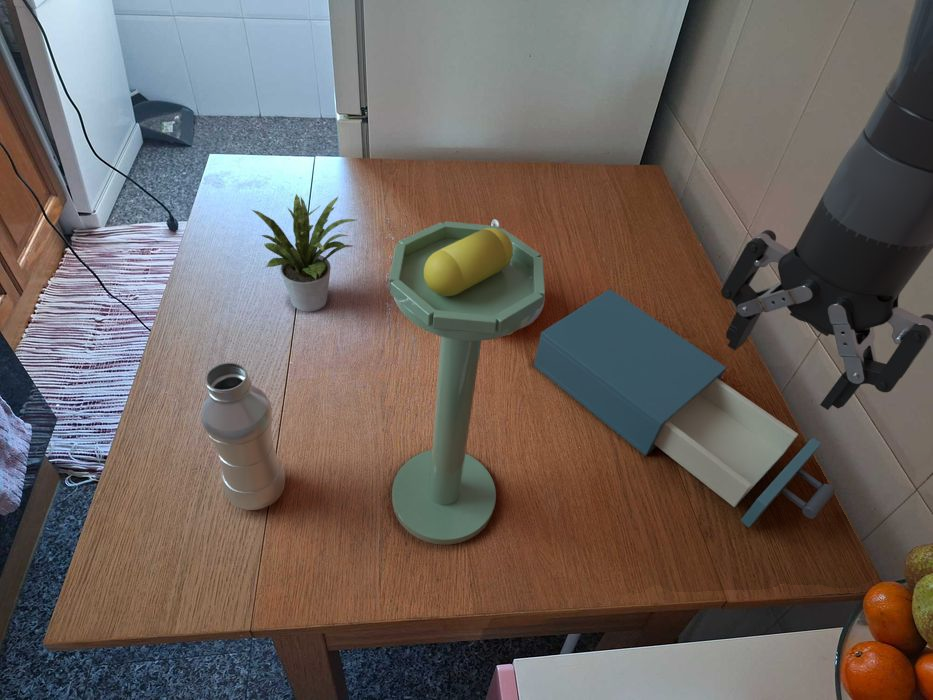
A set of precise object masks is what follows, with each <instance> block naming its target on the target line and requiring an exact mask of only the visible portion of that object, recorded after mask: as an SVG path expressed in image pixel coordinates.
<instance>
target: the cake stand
mask: <svg viewBox="0 0 933 700" xmlns="http://www.w3.org/2000/svg"><path fill="white" fill-rule="evenodd" d="M486 228H496V229H498V226H491V225H488V224H477V223H467V222H457V221H447V220H445V221H444V223H443V222H442V221H439V222H438V223H436V224H435V223H434V224H433V225H431V226H429V227H426V228H424V229H422V230H420V231H418V232H415V233H413V234H411V235H409V236H407V237H404V238H402V239H400V240H398V243H395V248H394V252H393V258H392V263H391V267H390V272H389V277H388V290H389V291H390V295H391V296H392V297H393V299H394V302H395V304H396V306H397V308H398V309H399V310H400V312H401V313H402V314H403V315H404V317H406V318H407V319H408V320H409V321H410V322H411V323H412V324H414V325H415V326H417V327H418V328H420V329H422V330H424V331H426V332H429V333H430V334H433V335H436V336H439V350H438V364H437V375H436V377H437V378H436V389H435V390H436V391H435V402H434V403H435V405H434V416H433V429H432V430H433V431H432V444H431V449H430V450H426V451H423V452H420V453H418V454H416V455H414V456H413V457H411V458H410V459H408V460H407V461H406V462H405V463H404V464H403V465H402V466H401V467H400V469H399V470H398V471H397V473H396V475H395V477H394V480H393V483H392V488H391V489H392V490H391V502H392V508H393V511H394V514H395V516H396V519H397V520H398V522H399V523H400V525H401V526H402V527H403V528H404V529H405V530H406V531H407V532H408V533H409V534H411V536H413V537H415V538H417V539H418V540H421V541H424V542H426V543H429V544H434V545H445V546H448V545H457V544H460V543H464V542H467V541H468V540H470V539H472V538H474V537H476V536H477V535H478V534H480V533H481V532H482V531H483V530H484V529H485V528H486V526H487V525H488V524H489V522H490V520H491V519H492V516H493V514H494V511H495V506H496V500H497V490H496V485H495V482H494V479H493V477H492V476H491V474H490V472H489V471H488V469H487V468H486V467H485V466H484V465H483V464H482V463H481V462H480V461H479V460H477V459H476V458H475V457H473V456H472V455H469V454H468V453H467V447H468V439H469V431H470V425H471V418H472V411H473V410H472V409H473V403H474V395H475V389H476V381H477V374H478V367H479V361H480V352H481V347H482V346H481V345H482V341H489V340H494V339H499V338H503V337H506V336H509V335H508V334H510V335H512V334H513V333H515V332H517V331H518V330H521V329H522V328H521V327H523V326H524V325H525V324H526V323H527V322H529V321H530V320H531V318H532V317H533V316H534V314H535V312H536V310H538V309H539V308H541V305H542V304H543V301H544V302H545V300H544V296H546V285H545V269H544V257H543V256H541V253H540V252H538V251H536V250H535V249H534V248H532V247H531V246H529V245H528V244H526V243H525V242H523V240H521V239H519V238H517V236H515V235H513V234H512V233H511V232H509V231H507V230H506V229H504V228H503V227H500V229H499V230H501V231H503V232H504V233H505V234H506V235H507V236H508V237H509V238H510V240H511V243H512V246H513V255H512V259H511V261H510V263H509V264H508V265H507V266H506V267H505V268H504V269H503V270H501V271H500V272H498V273H496V274H494V275H492V276H490V277H488V278H486V279H485V280H483V281H481V282H479V283H477V284H475V285H473V286H471V287H470V288H468V289H466V290H464V291H462V292H460V293H458V294H456V295H453V296H442V295H439V294H436V293H435V292H433V291H432V290H431V289H430V288H429V287H428V285H427V284H426V282H425V279H424V266H425V263H426V261H427V260H428V258H429V257H430V256H431V255H432V254H433V253H435V252H436V251H438V250H440V249H442V248H444V247H446V246H449V245H451V244H453V243H455V242H457V241H459V240H461V239H463V238H465V237H467V236H470V235H472V234H474V233H476V232H478V231H480V230H483V229H486ZM520 328H521V329H520ZM523 328H524V327H523ZM511 333H512V334H511Z"/></svg>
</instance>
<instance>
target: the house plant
mask: <svg viewBox="0 0 933 700" xmlns="http://www.w3.org/2000/svg"><path fill="white" fill-rule="evenodd" d="M338 198H339V196H336V197H335V198H334V199H333V200H331V201H330V202H329V203H328V204H327V205H326V206H325V207H324V209H323V210H322V213H321V214H320V216H319V218H318V220H317V221H316V223H315V225H314V224H310V216H311V215H312V214H313V213H314V212H315V211H316V210H318V209H320V207H321V206H322V204H320V205H319V206H317V207H315V209H313V210H311V211H310V212H308V208H307V205H306V203H305V200H304V199H303V198H302V196H300V197H299V195H298V193H296V194H295V196H294V201H293V211H292V209H290V208H289V206H288V207H287V210H288V211H289V213H290V215H291V218H292V219H293V220H292V221H293V222H292V225H293V226H292V231H293V234H294V239H295V241H294V242H295V244H294V245H293V244H292V242H291V241H290V240H289V238H288V236H287V235H286V234H285V232H284V231H283V229H282V228H281V227H280V225H279V224H278V223H277V222H276V221H275V220H274V219H272V218H270V217H269V216H267V215H265V214H264V213H263V212H261V211H258V210H254V209H251V211H252V212H253V213H255V214H256V215H257V216H258V217H259V218H260V219H261V220H262V221H263V222H264V223H265V224H266V226H268V228H270V230H271V231H272V234H273V236H274V237H273V236H270V235H268V234H262V235H261V237H263V238H266V239H269V240H270V241H271V242H267V243H264V244H263V245H264V247H265V248H266V249H267V250H268V251H270V252H272V253H273V254H275V255H278V256H279V257H273V258H272V259H270V260H269V261H268V262H267V264H266V265H265V267H264V269H266V268H272V267H273V268H274V267H278V266H280V267H279V273H280V275H281V277H282V281H283V283H284V285H285V288H286V291H287V295H288V296H289V299H290V302H291V304H292V307H294V308H295V309H297V310H300V311H301V312H307V313H308V312H309V313H310V312H316V311H318V310H320V309H322V308H323V307H325V305H326V304H327V302H328V294H329V287H330V286H329V284H330V278H331V277H330V275H331V268H332V267H331V263H330V261H329V260H328V259H329V258H330V257H332V255H333V254H335V253H337V252H339V251H340V250H343V249H345V248H352V247H353V245H352V244H344V243H343V242H341V241H338V240H337V241H336V239H338V238H340V237H350V235H348V234H343V233H342V234H340V233H339V234H338V233H337V234H335V235H333V236H331V237H330V238H328V240H326V241H325V242H324V244H323V245H322V243H321V241H322V240H323V239H324V238H325V236H326V235H327V234H328V233H329V232H331V231H332V230H333V229H335V228H337V227H338V226H340V225H342V224H346V223H351V222H355V221H357V219H355V218H344V219H339V220H336V221H334V222H332V223H330V224H329V225H328V226H327V227H326V228H324V226H325V225H326V224H327V223H328V220H329V219H328V218H329V216H330V214H331V213H332V211H334V209H335V207H334V205H335V203H336V202H337V201H338ZM312 229H313V232H312V233H311V231H312ZM310 235H311V237H310ZM334 240H335V241H334ZM330 249H332V250H330ZM327 250H330V252H329V253H327V255H326V256H323V255H322V254H323V253H326V251H327Z"/></svg>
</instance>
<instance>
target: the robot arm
mask: <svg viewBox="0 0 933 700" xmlns="http://www.w3.org/2000/svg"><path fill="white" fill-rule="evenodd" d="M903 43H904V44H903V46H902V51H901V55H900V60H899V63H898V65H897V68H896V70H895V72H894V74H893V75H892V77H891V78H890V80H889V82H888V83H887V85H886V87H885V89H884V90H883V93H882V94H881V95H880V97H879V100H878V101H877V103H876V105H875V107H874V109H873V110H872V112H871V114H870V115H869V118H868V119H867V121H866V123H865V125H864V127H863V129H862V130H861V132H860V133H859V136H858V137H857V138H856V139H855V141H854V142H853V144H852V145H851V146H850V148H849V149H848V150H847V152H846V153H845V154H844V156H843V157H842V159H841V161H840V163H839V165H838V167H837V168H836V170H835V171H834V174H833V175H832V178H831V179H830V181H829V183H828V185H827V186H826V188H825V190H824V192H823V194H822V196H821V197H820V199H819V201H818V203H817V205H816V207H815V209H814V210H813V213H812V215H811V216H810V218H809V219H808V222H807V224H806V225H805V228H804V229H803V231H802V233H801V235H800V236H799V239H798V240H797V242H796V244H795V246H794V247H793V248H792V249H789V248H788V247H786V246H784V245H783V244H781V243H779V242H777V241H776V240H777V236H776V235H777V234H776V233H775V232H774V231H773V230H770V229H765V230H763V231H762V232H761V233H759V234H758V235H756V236H755V237H754V238H752V239H751V240H749V241H748V242H747V243H746V245H745V246H744V249H743V250H742V252H741V253H740V256H739V257H738V258H737V261H736V262H735V264H734V266H733V268H732V270H731V272H730V273H729V275H728V277H727V278H726V280H725V282H724V284H723V285H722V287H721V290H720V294H721V296H722V297H723V299H725V300H727V301H730V300H731V301H732V302H733V303H734V304H735V306H736V312H735V314H734V316H733V318H732V320H731V323H730V324H729V326H728V328H727V330H726V332H725V338H726V339H727V340H728V341H729V342H728V344H727V347H728V348H730V349H731V350H733V351H736V350H738V349H739V348H740V347H742V345H743V344H744V343H746V341H747V340H748V338H749V337H750V335H751V333H752V331H753V329H754V327H755V326H756V323H757V322H758V320H759V318H760V316H761V315H762V313H770V312H773V311H776V310H780V309H782V308H785V307H786V308H787V309H788V310H789V312H790V313H789V315H790V316H791V317H793V318H794V319H796V320H798V321H800V322H804V323H806V324H809V325H811V327H813V328H814V329H815V330H816V331H817V332H819V333H821V334H822V335H824V336H826V337H828V336H830V335H831V336H834V338H835V339H834V340H835V343H836V349H837V354H838V355H839V357H841V358H842V360H843V365H844V369H845V371H844V372H843V373H842V374H841V375H840V376H839V378H838V379H837V381H836V382H835V383H834V385H833V386H832V387H831V389H830V390H829V391H828V393H827V394H826V396H824V399H823V400H822V401H821V403H820V404H819V406H821V407H822V408H824V409H825V410H826V411H829V410H830V409H831V407H832V406H833V407H835V408H836V409H841V408H843V407H844V406H845V405H846V404H847V403H848V402H849V401H850V400H851V398H852V397H853V396H854V394H855V393H856V392H857V391H858V389H859V388H860V386H861V385H871V386H874V387H875V389H876V390H877V391H879V392H881V393H889V392H892V391H893V389H894V388H895V386H896V385H897V384H898V382H899V381H900V379H902V378H903V376H904V375H905V374H906V372H907V371H908V370H909V368H910V367H911V366H912V364H913V363H914V361H915V360H916V358H917V357H918V355H919V354H920V353H921V351H922V350H923V349H924V347H925V346H926V344H927V343H928V341H929V340H930V338H931V337H932V336H933V314H931V313H926V314H922V315H921V316H919V315H917V314H915V313H913V312H910V311H907V310H906V309H904V308H901V307H899V298H900V295H901V292H902V291H903V290H904V288H905V287H906V285H907V284H908V283H909V281H911V279H912V277H913V276H914V275H915V274H916V272H917V270H918V269H919V268H920V266H921V265H922V263H923V262H924V261H925V259H926V258H927V257H928V256H929V254H930V252H931V251H932V250H933V0H914V3H913V7H912V12H911V15H910V18H909V21H908V24H907V28H906V34H905V38H904V42H903ZM771 263H777V270H778V276H779V280H780V281H779V282H777V283H775V284H774V285H771V286H769V287H765V288H763V289H761V290H757V291H755V289H753V288H752V287H751V285H750V284H751V282H752V281H753V279H754V278H755V276H756V274H757V273H758V271H759V269H760V268H766V267H767V266H768V265H770V264H771ZM886 323H887V324H889V325H890V326H892V333H891V338H892V340H893V343H894V344H895V345H897V347H896V349H895V350H894V351H893V353H892V355H891V356H890V358H889V359H888V360H887V362H886V363H885V362H880V361H877V357H876V350H875V345H874V342H875V337H876V336H875V335H876V333H875V329H874V328H876V327H879V326H882V325H884V324H886Z"/></svg>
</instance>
